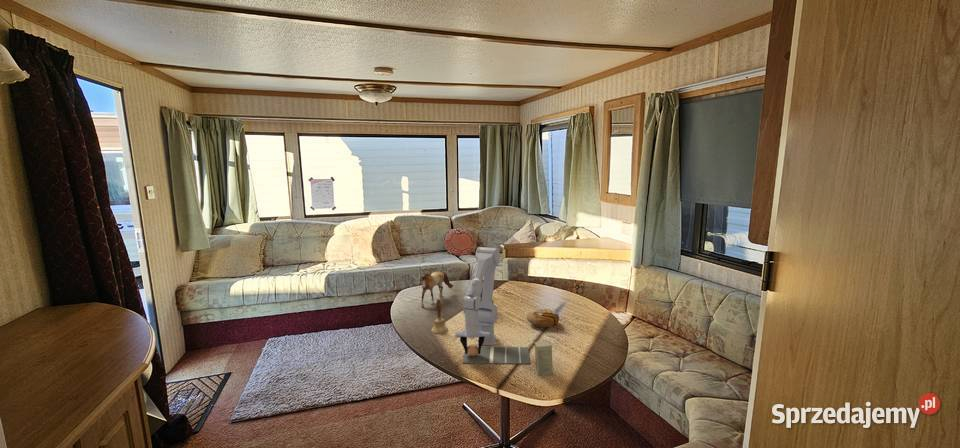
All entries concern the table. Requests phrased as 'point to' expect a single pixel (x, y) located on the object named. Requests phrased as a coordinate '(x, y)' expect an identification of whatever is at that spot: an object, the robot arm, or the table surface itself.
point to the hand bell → (439, 321)
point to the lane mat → (499, 356)
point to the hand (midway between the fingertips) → (473, 353)
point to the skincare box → (543, 358)
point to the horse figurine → (434, 283)
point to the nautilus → (544, 318)
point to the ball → (472, 350)
